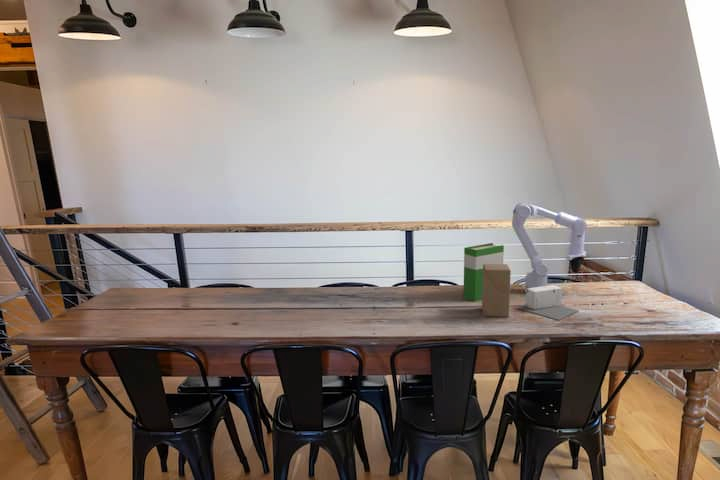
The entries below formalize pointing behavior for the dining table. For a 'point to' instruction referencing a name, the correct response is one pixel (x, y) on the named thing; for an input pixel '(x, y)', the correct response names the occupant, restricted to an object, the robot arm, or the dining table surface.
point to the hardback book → (479, 267)
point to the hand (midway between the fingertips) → (575, 272)
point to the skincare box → (544, 297)
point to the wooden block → (496, 290)
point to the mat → (552, 312)
